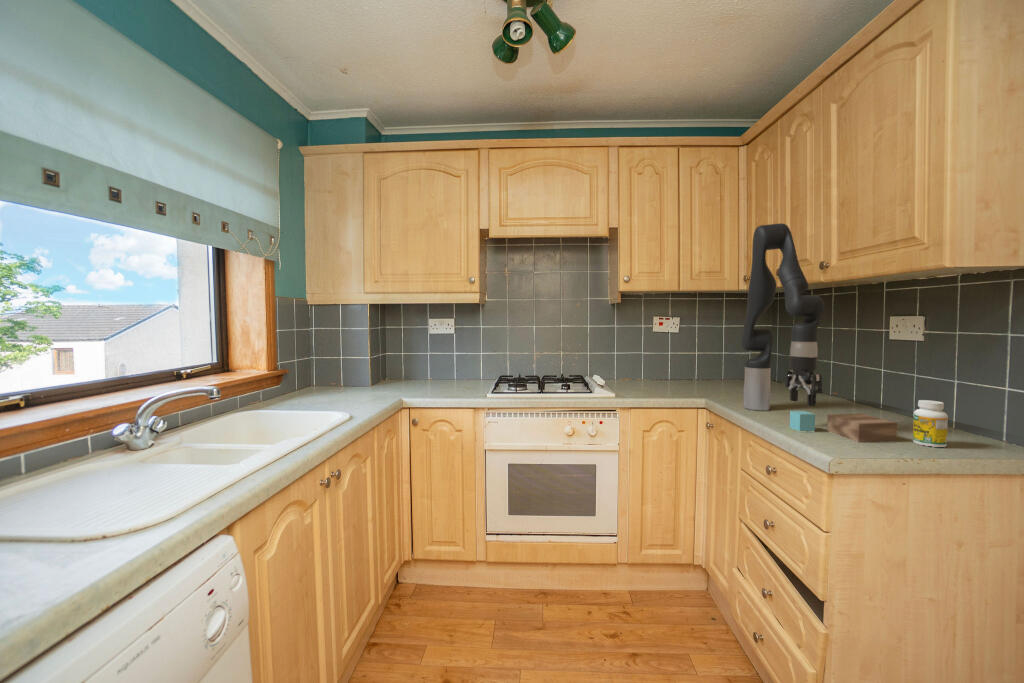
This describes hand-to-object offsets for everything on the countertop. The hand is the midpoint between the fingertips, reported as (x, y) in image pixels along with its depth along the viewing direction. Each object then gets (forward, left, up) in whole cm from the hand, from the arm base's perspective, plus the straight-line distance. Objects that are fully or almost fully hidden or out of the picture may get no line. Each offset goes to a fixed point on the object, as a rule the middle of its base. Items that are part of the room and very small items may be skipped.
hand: (802, 403), depth 140 cm
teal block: (0, 0, -9) cm, 9 cm away
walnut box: (+8, +13, -10) cm, 18 cm away
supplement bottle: (+17, +26, -9) cm, 33 cm away
